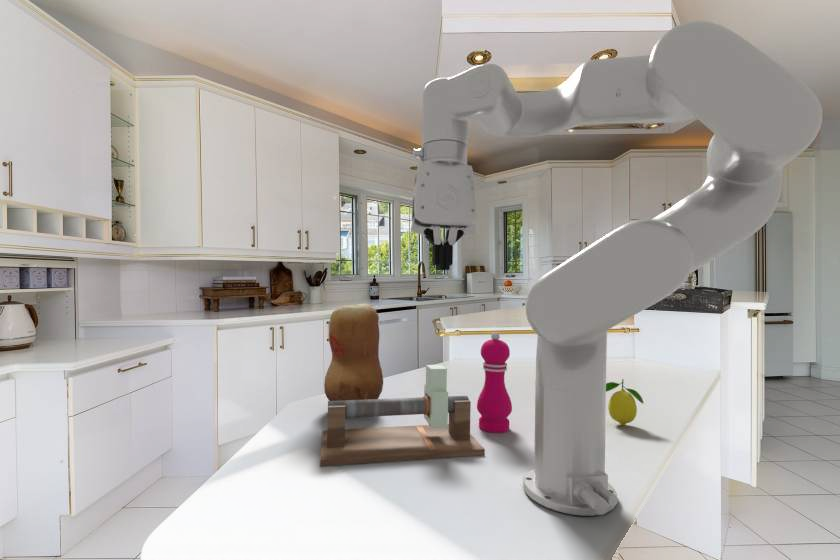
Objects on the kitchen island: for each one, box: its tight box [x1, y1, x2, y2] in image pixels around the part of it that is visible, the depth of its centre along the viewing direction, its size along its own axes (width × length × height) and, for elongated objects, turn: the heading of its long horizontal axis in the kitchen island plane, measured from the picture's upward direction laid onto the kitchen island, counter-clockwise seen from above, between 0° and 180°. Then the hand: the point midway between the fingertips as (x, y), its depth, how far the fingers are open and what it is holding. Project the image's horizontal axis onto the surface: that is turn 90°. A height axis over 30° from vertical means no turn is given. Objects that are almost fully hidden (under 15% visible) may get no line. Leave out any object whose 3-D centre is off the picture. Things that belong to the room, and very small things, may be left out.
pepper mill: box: [476, 331, 513, 434], centre depth 87 cm, size 7×7×20 cm
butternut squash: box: [323, 303, 384, 401], centre depth 97 cm, size 14×13×25 cm
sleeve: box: [423, 364, 449, 428], centre depth 79 cm, size 6×3×10 cm, turn 12°
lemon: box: [606, 378, 644, 426], centre depth 90 cm, size 7×6×10 cm
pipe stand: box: [319, 395, 486, 467], centre depth 77 cm, size 14×28×9 cm, turn 102°
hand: (442, 269), depth 69 cm, fingers closed
